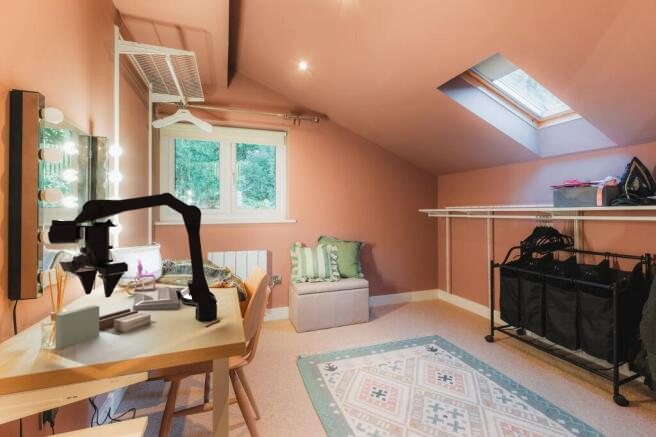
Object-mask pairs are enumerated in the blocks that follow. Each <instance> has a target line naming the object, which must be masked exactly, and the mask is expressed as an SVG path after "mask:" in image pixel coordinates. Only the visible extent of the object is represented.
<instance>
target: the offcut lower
mask: <svg viewBox="0 0 656 437" xmlns="http://www.w3.org/2000/svg"><path fill="white" fill-rule="evenodd" d="M151 321H152V320H151V319H149V320H146V321H143V322H140V323H137V324H134V325H131V326H128V327H122V326H117V325H114V330H117V331H121V332H127V333H129V332H128V331H130V332H132V331H131V330H133V331H135V330H134V329H136V328H139V327H142V326H145V325H148V324H151ZM151 325H152V324H151ZM148 326H149V325H148ZM145 327H146V326H145ZM142 328H143V327H142ZM139 329H140V328H139ZM136 330H137V329H136Z"/></svg>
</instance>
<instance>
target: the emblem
mask: <svg viewBox="0 0 656 437" xmlns="http://www.w3.org/2000/svg"><path fill="white" fill-rule="evenodd" d="M188 291H189V287H179V286H178V287H177V286H165V287H163V288H159V289H158V294H157V299H154V298H153V297H152V296H151V295H146V294H144V293H141V294H138V295H136V296H134V301H133V305H132V311H135V310H138V311H157V310H159V311H160V310H161V311H163V310H164V311H165V310H170V311H171V310H179V309H180V304H179V300H181V302H182V304H185V305H195V306H196V305H197V304H198V303H196V302H194V301H193V300H192V298H191V296H189V292H188Z"/></svg>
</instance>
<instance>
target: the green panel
mask: <svg viewBox="0 0 656 437" xmlns="http://www.w3.org/2000/svg"><path fill="white" fill-rule="evenodd" d="M99 316H100V305H97V304H96V305H95V304H92V305H89V306H84V307H81V308H76V309H73V310H71V309H70V310H68V311H63V312H58V313H56V314H55V347H57V348H60V349H64V348H66V347H68V346H71V345H75V344H77V343H81V342H84V341H87V340H90V339H93V338H96V337H100V330H99Z"/></svg>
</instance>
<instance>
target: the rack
mask: <svg viewBox="0 0 656 437" xmlns="http://www.w3.org/2000/svg"><path fill="white" fill-rule="evenodd" d="M136 313H139V310H132V311H131V308H125V309H121V310H119V311H114V312H111V313H108V314H103V315H99V331H101V332H105V333H107V334H112V335H117V336H122V335H124V334H127V333H130V332H132V331H136V330H138V329H141V328H145V327H147V326H150V325H154V324H156V323H157V321H154V320H151V324H148V325H145V326H142V327H139V328H136V329H134V330H131V331H128V332H121V331H117V330H114V320H116V319H119V318H122V317H126V316H129V315H133V314H136Z"/></svg>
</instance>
